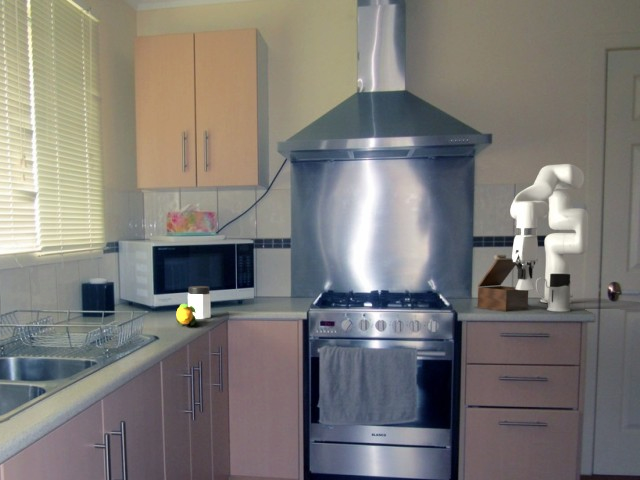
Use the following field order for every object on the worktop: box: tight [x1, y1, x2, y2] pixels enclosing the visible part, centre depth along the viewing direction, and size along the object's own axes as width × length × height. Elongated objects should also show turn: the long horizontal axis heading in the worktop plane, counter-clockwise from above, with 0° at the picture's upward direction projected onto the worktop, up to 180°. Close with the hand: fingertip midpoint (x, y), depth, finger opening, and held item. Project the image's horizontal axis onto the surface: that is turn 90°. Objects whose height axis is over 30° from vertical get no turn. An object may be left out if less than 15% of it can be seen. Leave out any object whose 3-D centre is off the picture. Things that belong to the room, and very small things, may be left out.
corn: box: [175, 303, 197, 326], centre depth 237 cm, size 7×8×20 cm
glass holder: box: [535, 273, 571, 313], centre depth 272 cm, size 9×14×15 cm, turn 89°
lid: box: [477, 254, 516, 288], centre depth 281 cm, size 16×14×5 cm
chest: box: [477, 285, 529, 312], centre depth 279 cm, size 15×14×9 cm
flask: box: [515, 264, 535, 291], centre depth 263 cm, size 7×7×10 cm
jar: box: [187, 285, 212, 320], centre depth 257 cm, size 9×8×12 cm
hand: (524, 278), depth 263 cm, fingers closed on flask, 3 cm apart
